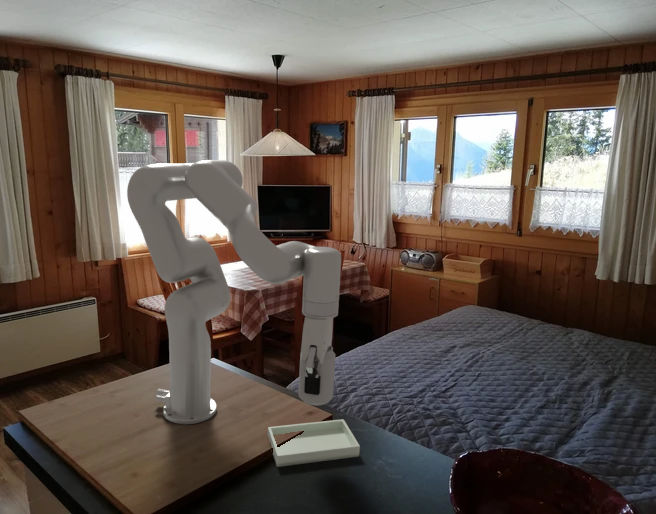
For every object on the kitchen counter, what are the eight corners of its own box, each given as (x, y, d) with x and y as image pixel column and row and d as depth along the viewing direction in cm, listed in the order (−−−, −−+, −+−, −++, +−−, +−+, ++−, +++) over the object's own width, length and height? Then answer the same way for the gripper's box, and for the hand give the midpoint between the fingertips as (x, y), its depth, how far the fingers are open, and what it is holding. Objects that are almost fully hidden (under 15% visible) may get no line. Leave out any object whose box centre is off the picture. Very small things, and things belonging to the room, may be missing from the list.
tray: (277, 466, 105) (277, 456, 104) (267, 437, 115) (267, 427, 115) (359, 456, 110) (359, 446, 109) (342, 428, 120) (343, 419, 120)
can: (329, 409, 106) (332, 355, 103) (294, 404, 107) (296, 351, 105) (335, 393, 113) (339, 342, 110) (303, 388, 114) (305, 338, 112)
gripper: (312, 293, 115) (308, 366, 118) (291, 317, 98) (288, 401, 102) (345, 297, 113) (340, 370, 117) (329, 321, 97) (325, 406, 100)
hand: (316, 384), depth 109 cm, fingers closed on can, 7 cm apart
